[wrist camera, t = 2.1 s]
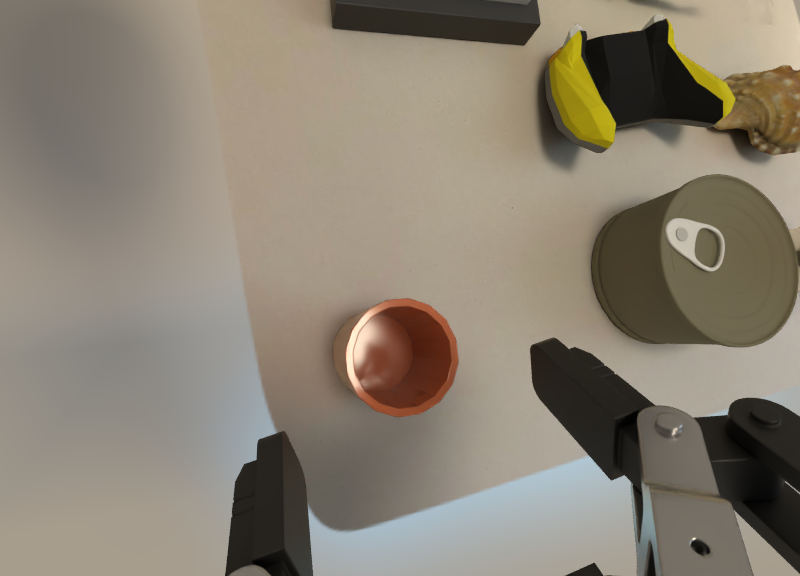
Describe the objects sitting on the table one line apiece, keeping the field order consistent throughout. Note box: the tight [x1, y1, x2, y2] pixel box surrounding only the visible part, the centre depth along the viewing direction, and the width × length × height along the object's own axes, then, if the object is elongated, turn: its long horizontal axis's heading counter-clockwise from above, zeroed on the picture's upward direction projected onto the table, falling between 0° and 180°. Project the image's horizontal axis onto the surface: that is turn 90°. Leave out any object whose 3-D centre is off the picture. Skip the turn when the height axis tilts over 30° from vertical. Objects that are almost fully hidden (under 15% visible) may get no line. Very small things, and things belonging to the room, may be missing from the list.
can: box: [592, 174, 799, 347], centre depth 31 cm, size 12×12×7 cm
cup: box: [333, 298, 459, 417], centre depth 24 cm, size 6×6×8 cm
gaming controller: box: [545, 13, 736, 153], centre depth 33 cm, size 15×6×10 cm
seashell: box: [713, 65, 800, 155], centre depth 37 cm, size 9×8×10 cm
